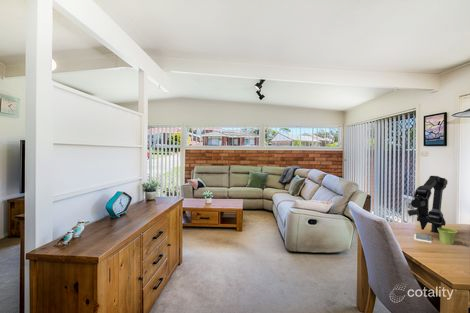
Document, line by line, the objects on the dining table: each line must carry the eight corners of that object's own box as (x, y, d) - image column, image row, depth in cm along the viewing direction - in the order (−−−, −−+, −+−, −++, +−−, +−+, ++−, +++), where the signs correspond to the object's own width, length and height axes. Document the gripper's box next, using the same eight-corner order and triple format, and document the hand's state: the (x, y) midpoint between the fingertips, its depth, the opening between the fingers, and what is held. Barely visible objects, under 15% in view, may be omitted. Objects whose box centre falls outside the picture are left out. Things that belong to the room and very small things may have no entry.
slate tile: (416, 232, 165) (415, 236, 159) (429, 235, 161) (429, 238, 155) (416, 235, 165) (415, 238, 159) (429, 237, 161) (429, 241, 155)
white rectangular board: (414, 234, 168) (414, 233, 168) (430, 237, 163) (430, 236, 163) (413, 240, 157) (413, 239, 157) (431, 243, 152) (431, 242, 152)
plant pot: (460, 247, 146) (461, 233, 146) (442, 245, 148) (443, 231, 148) (450, 241, 155) (450, 228, 155) (433, 240, 157) (433, 227, 157)
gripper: (408, 202, 174) (408, 224, 175) (407, 207, 160) (407, 230, 160) (428, 204, 167) (428, 227, 168) (429, 209, 153) (428, 234, 153)
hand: (422, 229), depth 162 cm, fingers closed
